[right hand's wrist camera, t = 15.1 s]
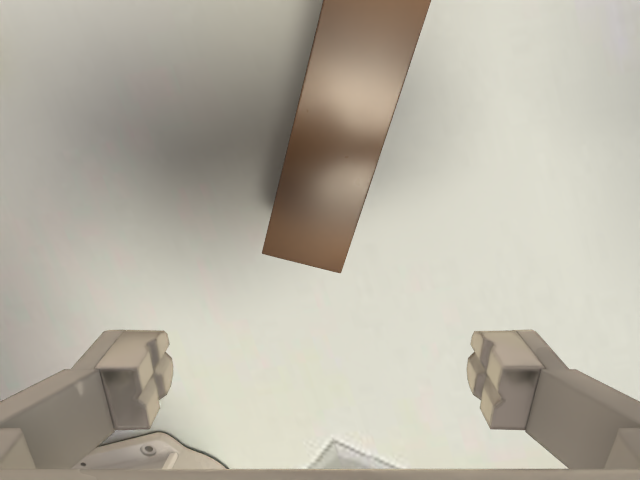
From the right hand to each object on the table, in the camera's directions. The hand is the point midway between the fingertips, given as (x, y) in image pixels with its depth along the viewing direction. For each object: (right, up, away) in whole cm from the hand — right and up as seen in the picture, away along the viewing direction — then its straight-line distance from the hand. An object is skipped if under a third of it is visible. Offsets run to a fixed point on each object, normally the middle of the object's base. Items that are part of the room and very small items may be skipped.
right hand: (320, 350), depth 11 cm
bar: (+2, +16, +19) cm, 25 cm away
